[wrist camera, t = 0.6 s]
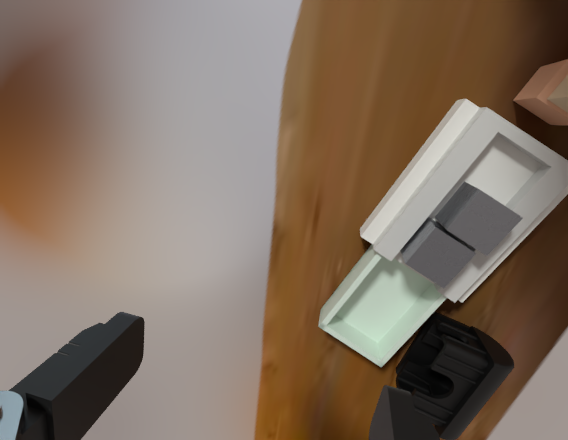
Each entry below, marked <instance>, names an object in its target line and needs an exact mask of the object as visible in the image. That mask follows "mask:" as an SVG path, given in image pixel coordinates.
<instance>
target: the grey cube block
mask: <svg viewBox="0 0 568 440" xmlns="http://www.w3.org/2000/svg"><path fill="white" fill-rule="evenodd" d="M435 217H436V219H437V220H438V221H439V222H440V223H441V224H442V225H443V226H444V228H445V229H446V230H447V231H449V232H451V233H452V234H454V235H455V236H457V237H458V238H460V239H461V240H463V241H464V242H466V243H467V244H469V245H470V246H472V247H474V248H475V249H477V250H478V251H480V252H481V253H483V254H484V255H486V256H488V255H489V254H490V253H491V252H492V250H493V249H494V248H495V247H496V246H497V245H498V244H499V243H500V242H501V241H502V240H503V239H504V238H505V237H506V236H507V235H508V234H509V232H510V231H511V230H512V229H513V228H514V227H515V226H516V225H517V224H518V223H519V222H520V221H521V220H522V219H523V217H521V216H520V215H518V214H517V213H515V212H514V211H512V210H510V209H509V208H507V207H506V206H504V205H503V204H501V203H500V202H498V201H497V200H495V199H494V198H492V197H491V196H489V195H488V194H486V193H484V192H483V191H481V190H480V189H478V188H476V187H474V186H472V185H470V184H469V183H467V182H465V181H464V182H463V184H462V185H461V186H460V187H459V188H458V190H457V191H456V192H455V193H454V194H453V196H452V197H451V198H450V199H449V200H448V202H447V203H446V204H445V205H444V206H443V208H442V209H441V210H440V211H439V212H438V214H437V215H436V216H435Z"/></svg>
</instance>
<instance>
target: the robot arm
mask: <svg viewBox="0 0 568 440" xmlns="http://www.w3.org/2000/svg"><path fill="white" fill-rule="evenodd" d="M143 348H144V319H143V318H142V317H139V316H135V315H131V314H128V313H124V312H120V313H117V314H116V315H115V316H114V317H113V318H111V320H109V321H108V322H107V323H106V324H102V323H98V324H96V325H94V326H92V327H90V328H87V329H85V330H83V331H82V332H81V333H79V334H78V335H77V336H75V337H74V338H73V339H72V340H71V341H69V343H68V344H66V345H64V346H63V347H62V348H61V349H59V350H58V352H57V353H55V354H53V355H52V356H51V357H50V358H48V359H47V360H46V361H45V362H44V363H42V364H41V365H40V366H39V367H37V368H36V369H35V370H34V371H32V372H31V373H30V374H29V375H28V376H27V377H25V378H24V379H23V380H21V381H20V382H19V383H18V384H17V385H15V386H14V387H13V388H11V389H10V390H9V391H0V440H81V438H82V437H83V436H84V435H85V434H86V432H87V431H88V430H89V429H90V428H91V426H92V425H93V424H94V423H95V422H96V420H97V419H98V418H99V417H100V416H101V414H102V413H103V412H104V411H105V410H106V408H107V407H108V406H109V405H110V404H111V402H112V401H113V400H114V399H115V397H116V396H117V395H118V394H119V393H120V391H121V390H122V389H123V388H124V387H125V385H126V384H127V383H128V382H129V380H130V379H131V378H132V377H133V376H134V375H135V373H136V372H137V370H138V368H139V366H140V364H141V362H142V358H143V350H144V349H143ZM369 440H440V438H439V434H438V433H437V431H436V429H435V428H434V426H433V425H432V423H431V422H430V420H429V418H428V417H427V416H425V415H422V414H418V413H415V408H414V403H413V398H412V395H411V393H410V392H409V391H405V390H401V389H398V388H394V387H390V386H387V385H385V386H384V387H383V389H382V392H381V395H380V398H379V401H378V404H377V407H376V410H375V413H374V416H373V419H372V422H371V426H370V432H369Z"/></svg>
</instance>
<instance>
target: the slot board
mask: <svg viewBox="0 0 568 440" xmlns="http://www.w3.org/2000/svg"><path fill="white" fill-rule="evenodd" d="M464 181H465V182H467V183H469V184H470V185H472V186H474V187H476V188H478V189H480V190H481V191H483V192H484V193H486V194H488V195H489V196H491V197H492V198H494V199H495V200H497V201H498V202H500V203H501V204H503V205H504V206H506V207H507V208H509V209H510V210H512V211H514V212H515V213H517V214H518V215H520V216H521V217H523V219H522V220H521V221H520V222H519V223H518V224H517V225H516V226H515V227H514V228H513V229H512V230H511V231H510V232H509V234H508V235H507V236H506V237H505V238H504V239H503V240H502V241H501V242H500V243H499V244H498V245H497V246H496V247H495V248H494V249H493V250H492V252H491V253H490V254H489V255H488V256H486V255H484V254H483V253H481V252H480V251H478V250H477V249H475V248H474V247H472V246H470V245H469V244H468V246H469V247H470V248H471V249H472V250H473V251H474V252H475V253H476V255H475V256H474V257H473V258H472V259H471V260H470V261H469V262H468V263H467V264H466V265H465V267H464V268H463V269H462V270H461V271H460V272H459V273H458V274H457V275H456V276H455V277H454V278H453V279H452V281H451V282H450V283H449V284H448V285H447V286H446V287H445V288H442V287H440V286H439V285H437V284H436V283H434V282H433V281H431V280H430V279H428V278H427V277H425V276H424V275H422V274H421V273H419V272H417V271H416V270H414V269H413V268H411V267H410V266H408V265H407V264H405V262H404V259H403V257H402V254H401V251H400V250H401V249H402V248H403V247H404V245H405V244H406V243H407V242H408V241H409V239H410V238H411V237H412V236H413V235H414V233H415V232H416V231H417V230H418V228H419V227H420V226H421V225H422V224H423V222H424V221H425V220H426V219H427V218H428V216H429V217H430V218H432V219H433V220H435V221H436V222H438V223H439V224H441V223H440V222H439V221H438V220H437V219H436V217H435V216H436V215H437V214H438V212H439V211H440V210H441V209H442V208H443V206H444V205H445V204H446V203H447V202H448V200H449V199H450V198H451V197H452V196H453V194H454V193H455V192H456V191H457V190H458V188H459V187H460V186H461V185H462V184H463V182H464ZM567 194H568V160H566V159H565V158H563V157H562V156H560V155H559V154H557V153H556V152H554V151H553V150H551V149H550V148H548V147H546V146H545V145H543V144H542V143H540V142H539V141H537V140H536V139H534V138H533V137H531V136H530V135H528V134H527V133H525V132H524V131H522V130H521V129H519V128H517V127H516V126H514V125H513V124H511V123H510V122H508V121H507V120H505V119H504V118H502V117H501V116H499V115H498V114H496V113H495V112H493V111H492V110H490V109H489V108H487V107H483V108H479V107H478V106H476V105H475V104H473V103H472V102H470V101H469V100H467V99H461V100H457V101H456V102H455V104H454V105H453V106H452V107H451V109H450V110H449V111H448V113H447V114H446V115H445V117H444V118H443V119H442V121H441V122H440V123H439V125H438V126H437V127H436V129H435V130H434V131H433V133H432V134H431V135H430V137H429V138H428V139H427V141H426V142H425V143H424V145H423V146H422V147H421V149H420V150H419V151H418V153H417V154H416V155H415V157H414V158H413V159H412V160H411V162H410V163H409V164H408V166H407V167H406V168H405V170H404V171H403V172H402V174H401V175H400V176H399V178H398V179H397V180H396V182H395V183H394V184H393V186H392V187H391V188H390V190H389V191H388V192H387V194H386V195H385V196H384V198H383V199H382V200H381V202H380V203H379V204H378V206H377V207H376V208H375V210H374V211H373V212H372V213H371V215H370V216H369V217H368V219H367V220H366V221H365V223H364V224H363V225H362V227H361V228H360V235H361V237H362V238H364V239H365V240H367V241H368V242H370V243H371V244H373V249H374V250H375V251H376V252H378V253H379V254H381V255H382V256H384V257H385V258H387V259H388V260H390V261H392V260H393V259H396V260H397V261H399V262H400V263H402V264H403V265H405V266H407V267H408V268H410V269H411V270H413V271H414V272H416V273H417V274H419V275H420V276H422V277H423V278H425V279H426V280H428V281H430V282H431V283H433V284H434V286H435V288H436V290H437V291H438V292H439V293H441V294H442V295H444V296H445V297H447V298H448V299H450V300H451V301H453V302H454V303H455V302H456V301H457V300H459V301H460V302H462V303H463V302H464V301H465V300H466V299H467V297H468V296H469V295H470V294H471V293H472V292H473V291H474V290H475V289H476V288H477V287H478V286H479V285H480V284H481V283H482V282H483V281H484V280H485V279H486V278H487V277H488V276H489V275H490V274H491V273H492V272H493V271H494V270H495V269H496V268H497V267H498V266H499V264H500V263H501V262H502V261H503V260H504V259H505V258H506V257H507V256H508V255H509V254H510V253H511V252H512V251H513V250H514V249H515V248H516V247H517V246H518V245H519V244H520V243H521V242H522V241H523V240H524V239H525V238H526V237H527V236H528V235H529V234H530V233H531V232H532V230H533V229H534V228H535V227H536V226H537V225H538V224H539V223H540V222H541V221H542V220H543V219H544V218H545V217H546V216H547V215H548V214H549V213H550V212H551V211H552V210H553V209H554V208H555V207H556V206H557V205H558V204H559V203H560V202H561V201H562V200H563V199H564V197H565V196H566V195H567ZM441 225H442V224H441ZM442 226H443V225H442Z"/></svg>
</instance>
